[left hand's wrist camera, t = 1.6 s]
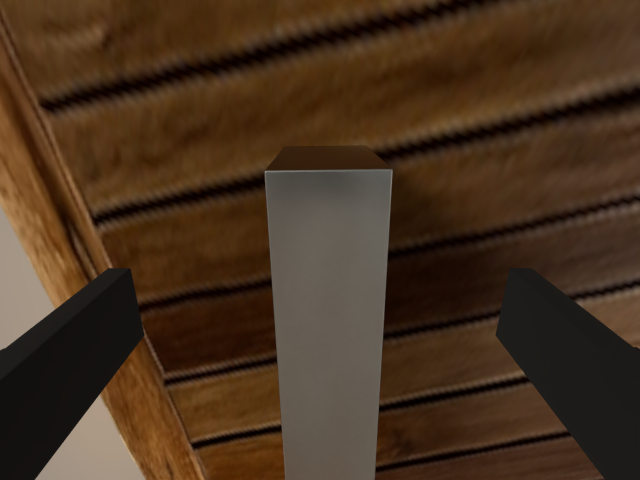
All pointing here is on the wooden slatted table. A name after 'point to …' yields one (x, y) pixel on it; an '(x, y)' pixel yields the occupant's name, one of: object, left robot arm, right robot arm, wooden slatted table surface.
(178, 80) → the wooden slatted table surface
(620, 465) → the left robot arm
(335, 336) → the box
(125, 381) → the wooden slatted table surface
